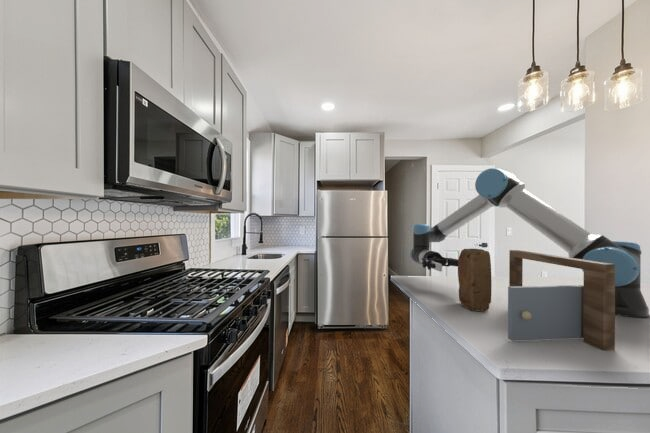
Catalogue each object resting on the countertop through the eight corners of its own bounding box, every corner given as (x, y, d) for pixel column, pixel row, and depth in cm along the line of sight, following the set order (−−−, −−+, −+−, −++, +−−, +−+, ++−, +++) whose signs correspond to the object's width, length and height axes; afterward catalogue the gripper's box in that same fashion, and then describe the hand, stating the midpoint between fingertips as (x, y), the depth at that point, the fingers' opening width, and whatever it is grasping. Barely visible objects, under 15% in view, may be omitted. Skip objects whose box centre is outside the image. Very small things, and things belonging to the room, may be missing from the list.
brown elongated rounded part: (493, 312, 89) (493, 251, 89) (470, 312, 89) (470, 250, 89) (475, 302, 100) (475, 247, 100) (454, 302, 100) (455, 247, 100)
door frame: (517, 309, 92) (517, 250, 93) (614, 350, 64) (615, 264, 64) (509, 309, 92) (509, 250, 92) (603, 350, 64) (603, 264, 64)
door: (582, 335, 71) (582, 285, 71) (596, 341, 67) (596, 288, 68) (507, 338, 69) (507, 286, 69) (518, 344, 65) (518, 289, 65)
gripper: (456, 267, 126) (488, 277, 105) (404, 267, 123) (426, 277, 102) (456, 250, 126) (489, 257, 105) (404, 250, 123) (426, 257, 102)
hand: (458, 267), depth 103 cm, fingers open, 13 cm apart
